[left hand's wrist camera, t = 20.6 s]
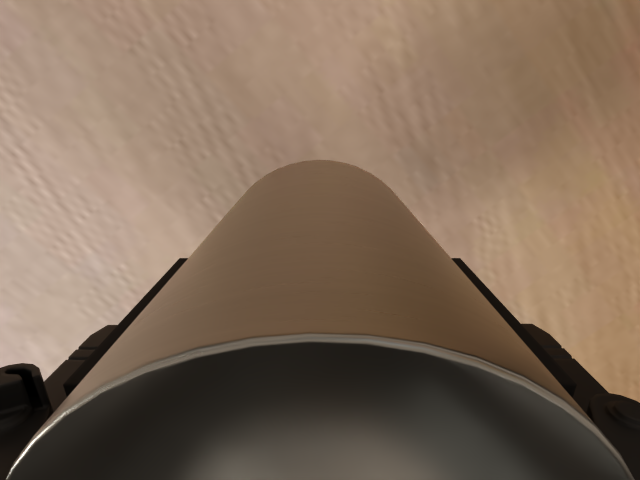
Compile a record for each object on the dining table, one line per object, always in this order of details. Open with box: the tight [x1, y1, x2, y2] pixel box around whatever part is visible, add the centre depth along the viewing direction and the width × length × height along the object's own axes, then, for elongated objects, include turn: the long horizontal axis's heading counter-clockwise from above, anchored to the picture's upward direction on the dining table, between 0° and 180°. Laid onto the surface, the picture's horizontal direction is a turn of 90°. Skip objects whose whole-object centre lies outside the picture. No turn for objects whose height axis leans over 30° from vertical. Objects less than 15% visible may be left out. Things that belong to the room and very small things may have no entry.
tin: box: [6, 160, 634, 480], centre depth 11 cm, size 9×9×13 cm
